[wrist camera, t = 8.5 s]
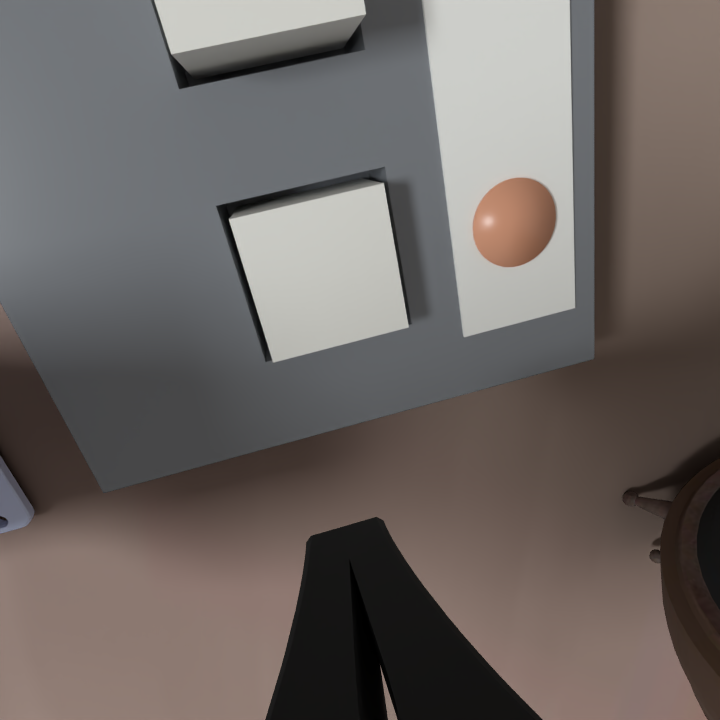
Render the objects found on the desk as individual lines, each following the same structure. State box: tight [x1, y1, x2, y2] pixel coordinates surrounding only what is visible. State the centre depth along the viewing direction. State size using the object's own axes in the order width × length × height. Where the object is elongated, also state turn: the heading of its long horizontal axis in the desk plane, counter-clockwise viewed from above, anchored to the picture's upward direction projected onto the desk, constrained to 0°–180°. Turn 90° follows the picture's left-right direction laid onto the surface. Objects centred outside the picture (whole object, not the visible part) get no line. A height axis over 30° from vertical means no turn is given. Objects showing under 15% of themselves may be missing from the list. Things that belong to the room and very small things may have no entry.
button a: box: [229, 178, 409, 363], centre depth 14 cm, size 4×4×3 cm
